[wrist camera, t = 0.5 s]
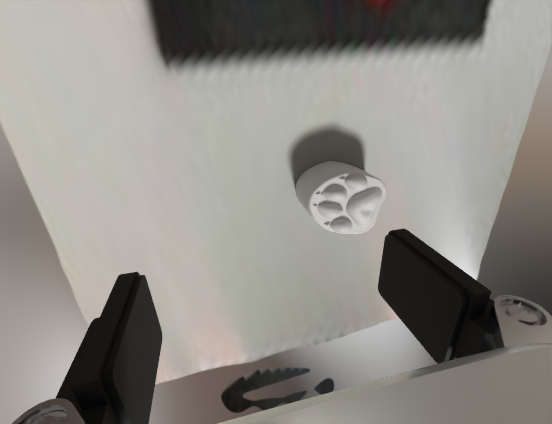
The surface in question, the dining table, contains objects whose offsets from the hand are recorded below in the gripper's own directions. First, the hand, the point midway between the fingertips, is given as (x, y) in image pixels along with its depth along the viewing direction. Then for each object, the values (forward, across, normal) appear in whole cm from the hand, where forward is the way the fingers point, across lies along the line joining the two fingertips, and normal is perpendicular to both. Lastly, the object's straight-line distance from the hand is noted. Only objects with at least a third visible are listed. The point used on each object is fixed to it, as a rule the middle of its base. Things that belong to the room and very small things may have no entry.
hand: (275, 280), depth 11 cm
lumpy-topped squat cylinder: (+36, -18, +12) cm, 42 cm away
